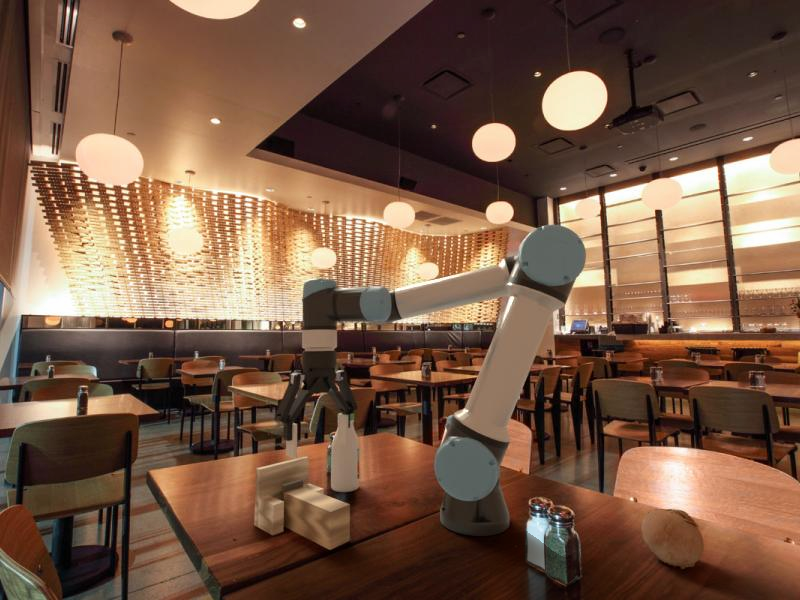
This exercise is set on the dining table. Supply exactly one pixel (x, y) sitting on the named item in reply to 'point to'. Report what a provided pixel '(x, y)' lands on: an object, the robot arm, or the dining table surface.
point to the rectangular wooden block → (315, 515)
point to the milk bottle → (345, 462)
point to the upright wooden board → (277, 491)
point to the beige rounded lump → (672, 537)
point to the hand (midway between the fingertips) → (318, 450)
